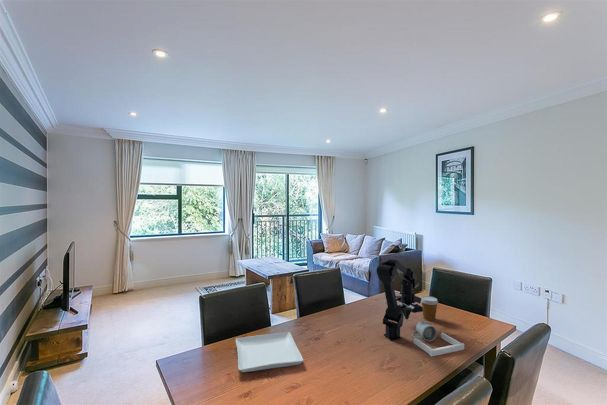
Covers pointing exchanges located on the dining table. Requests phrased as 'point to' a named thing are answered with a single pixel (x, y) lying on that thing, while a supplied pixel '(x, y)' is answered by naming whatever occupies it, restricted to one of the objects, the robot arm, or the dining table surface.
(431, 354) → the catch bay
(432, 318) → the disposable coffee cup
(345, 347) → the dining table surface
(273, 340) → the square plate
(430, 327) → the ceramic mug
